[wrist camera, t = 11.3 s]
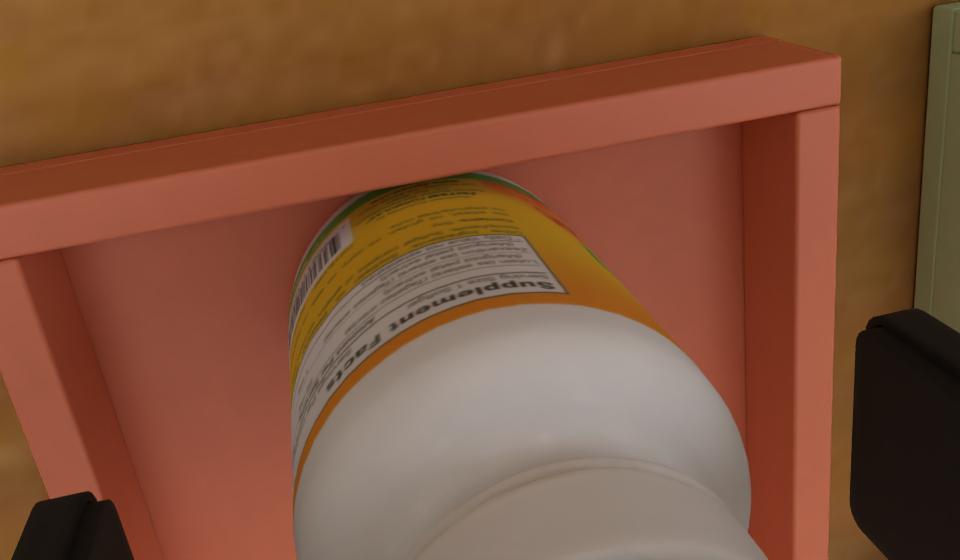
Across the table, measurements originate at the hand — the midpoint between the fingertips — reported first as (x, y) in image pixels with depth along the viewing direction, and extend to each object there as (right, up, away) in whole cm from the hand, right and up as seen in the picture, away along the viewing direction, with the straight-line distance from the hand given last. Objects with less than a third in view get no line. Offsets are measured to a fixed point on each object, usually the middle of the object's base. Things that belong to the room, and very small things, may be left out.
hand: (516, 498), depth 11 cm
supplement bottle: (-1, +2, +6) cm, 6 cm away
